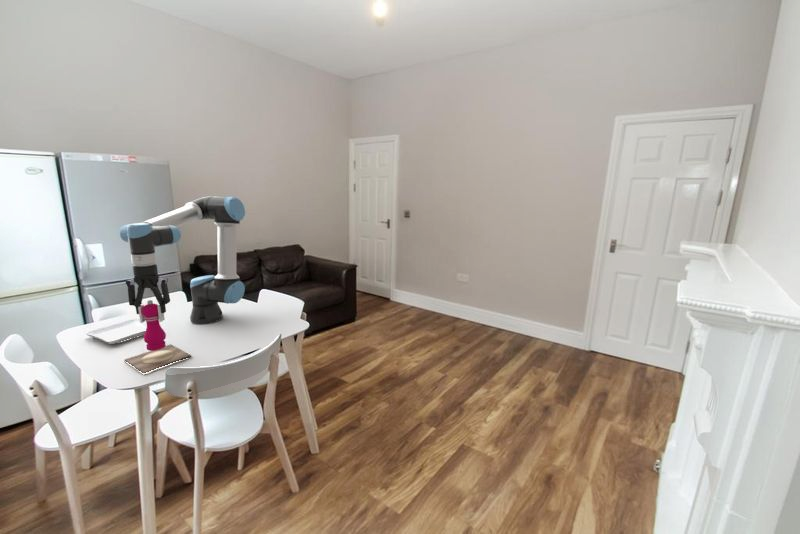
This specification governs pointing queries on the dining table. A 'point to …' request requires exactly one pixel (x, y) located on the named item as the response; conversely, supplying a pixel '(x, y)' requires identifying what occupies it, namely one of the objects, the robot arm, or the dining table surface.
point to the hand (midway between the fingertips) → (152, 321)
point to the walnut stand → (157, 358)
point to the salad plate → (118, 325)
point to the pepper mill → (153, 327)
